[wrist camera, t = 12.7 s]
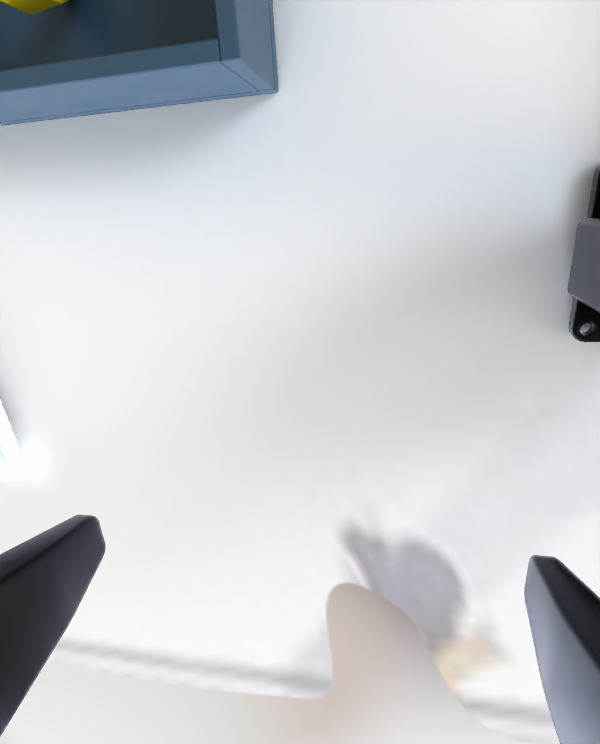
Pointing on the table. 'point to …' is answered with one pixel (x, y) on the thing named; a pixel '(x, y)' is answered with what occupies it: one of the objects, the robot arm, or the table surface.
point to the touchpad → (10, 453)
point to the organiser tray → (132, 56)
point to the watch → (33, 5)
